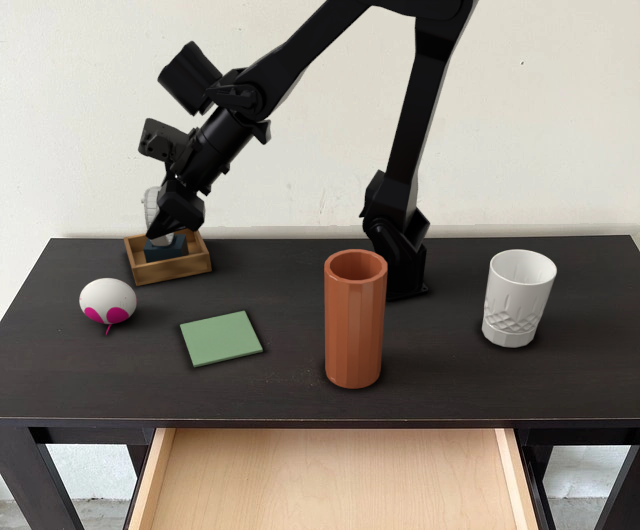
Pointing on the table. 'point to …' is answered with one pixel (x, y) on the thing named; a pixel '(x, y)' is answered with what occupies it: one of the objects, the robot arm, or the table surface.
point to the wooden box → (167, 268)
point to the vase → (354, 317)
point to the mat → (220, 338)
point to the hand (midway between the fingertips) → (151, 222)
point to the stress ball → (108, 301)
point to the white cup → (516, 296)
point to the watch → (166, 244)
